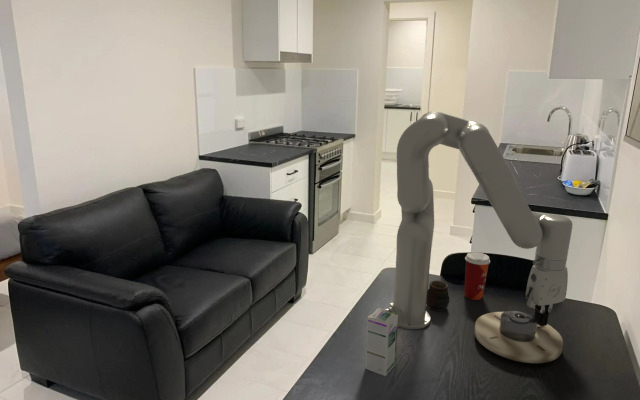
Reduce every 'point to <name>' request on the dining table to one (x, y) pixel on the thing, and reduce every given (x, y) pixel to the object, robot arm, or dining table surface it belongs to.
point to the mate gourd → (437, 295)
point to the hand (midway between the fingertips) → (540, 323)
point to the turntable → (535, 351)
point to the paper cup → (475, 274)
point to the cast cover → (518, 326)
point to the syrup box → (381, 341)
